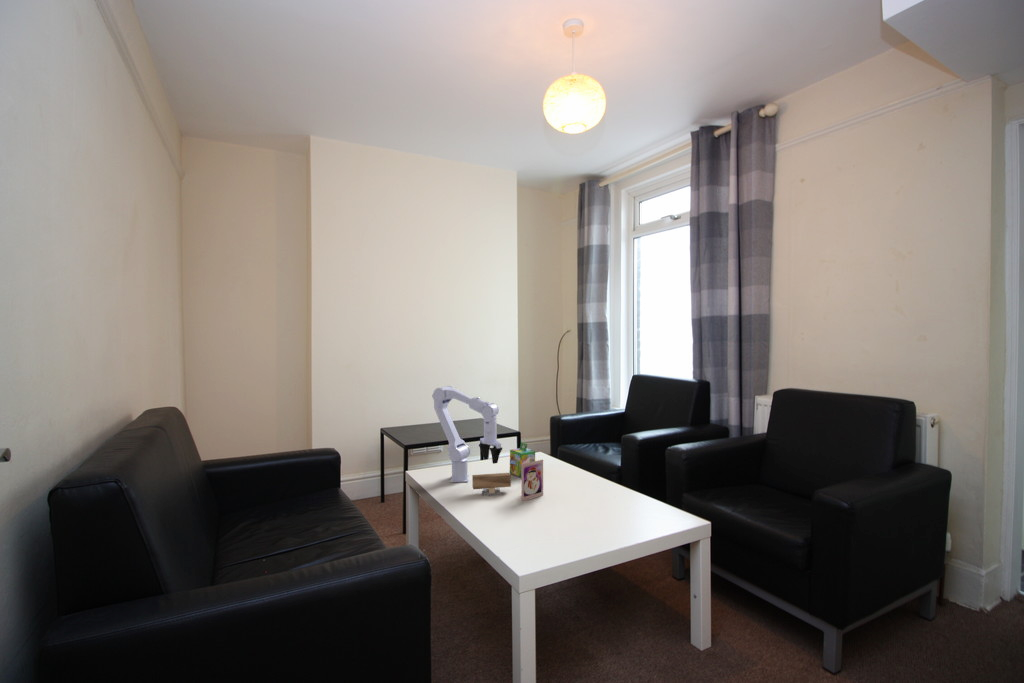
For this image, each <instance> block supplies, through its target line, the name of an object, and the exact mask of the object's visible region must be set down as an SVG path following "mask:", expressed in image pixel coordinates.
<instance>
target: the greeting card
mask: <svg viewBox="0 0 1024 683" xmlns="http://www.w3.org/2000/svg"><path fill="white" fill-rule="evenodd" d="M520 480H521V482H520V483H521V486H520V487H521V502H524V501H527V500H531V499H534V498H538V497H541V496H544V459H540V460H539V459H538V460H535V461H534V462H530V457H529V458H528V459H527V460H526V461H524V462H523V463H522V464H521V479H520Z"/></svg>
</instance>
